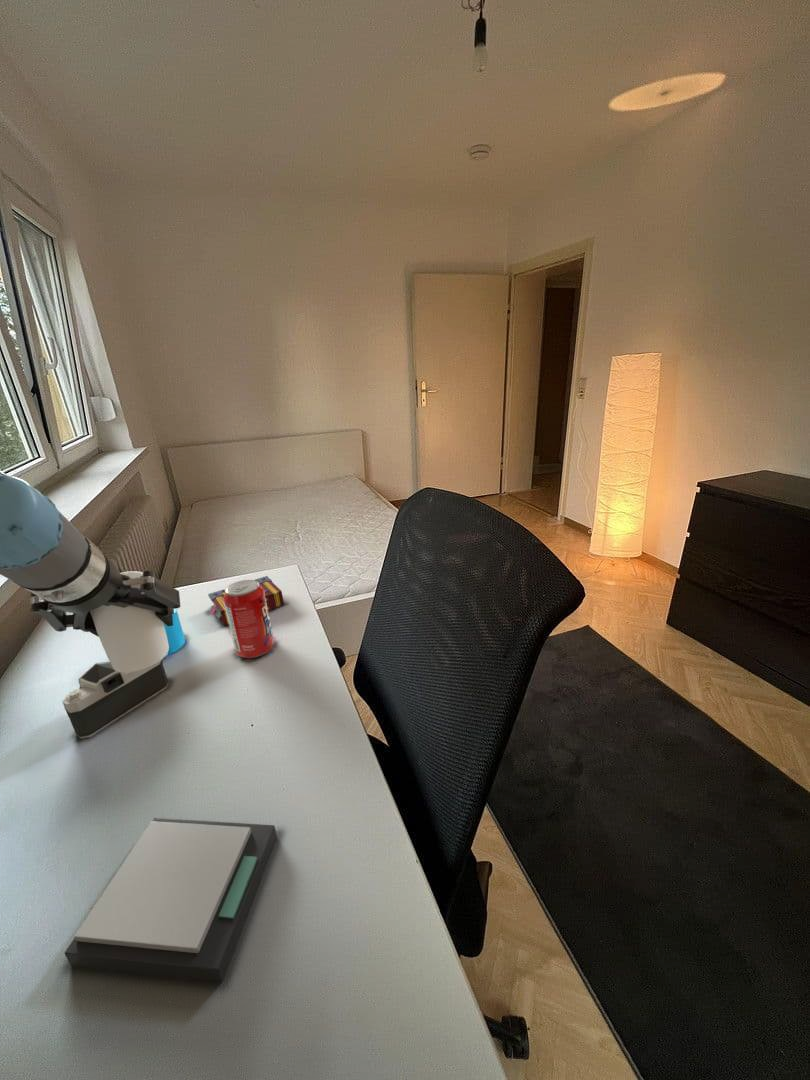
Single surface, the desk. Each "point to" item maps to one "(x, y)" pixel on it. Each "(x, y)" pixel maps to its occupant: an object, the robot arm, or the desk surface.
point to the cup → (130, 635)
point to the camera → (110, 695)
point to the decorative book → (271, 595)
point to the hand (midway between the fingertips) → (138, 624)
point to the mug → (174, 634)
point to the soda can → (248, 618)
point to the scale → (177, 900)
